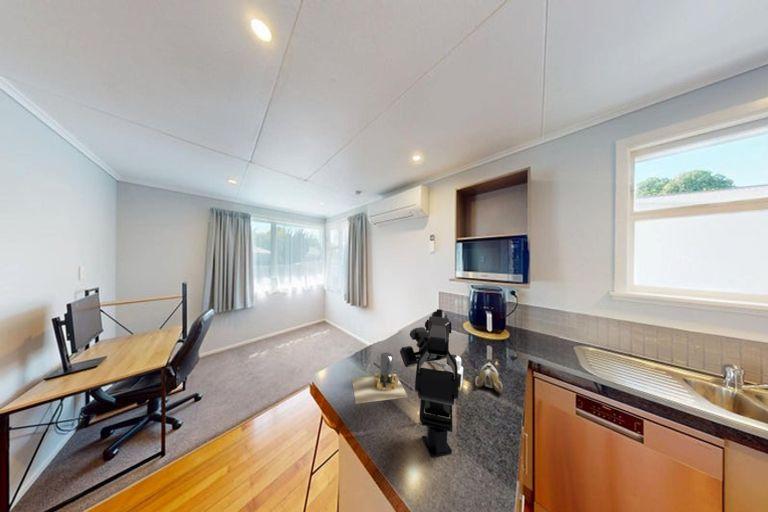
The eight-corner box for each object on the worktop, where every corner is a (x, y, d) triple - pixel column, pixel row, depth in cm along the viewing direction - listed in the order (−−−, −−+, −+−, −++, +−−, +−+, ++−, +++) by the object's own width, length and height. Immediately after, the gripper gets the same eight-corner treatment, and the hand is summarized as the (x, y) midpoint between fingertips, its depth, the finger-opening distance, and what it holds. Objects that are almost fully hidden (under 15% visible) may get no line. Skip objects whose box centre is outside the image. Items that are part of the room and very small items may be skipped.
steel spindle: (391, 388, 85) (392, 358, 85) (379, 387, 86) (380, 357, 86) (392, 381, 90) (393, 353, 90) (380, 380, 91) (381, 352, 91)
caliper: (453, 379, 94) (454, 364, 95) (451, 379, 94) (452, 364, 95) (428, 360, 114) (429, 348, 114) (426, 360, 113) (427, 348, 114)
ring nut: (400, 389, 84) (400, 383, 84) (376, 392, 82) (376, 386, 82) (393, 376, 94) (393, 370, 94) (371, 378, 92) (371, 372, 92)
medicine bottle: (442, 385, 90) (444, 357, 90) (446, 378, 96) (447, 351, 96) (460, 391, 86) (461, 361, 87) (462, 382, 93) (463, 355, 93)
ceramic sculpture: (502, 361, 96) (503, 378, 83) (502, 380, 96) (503, 400, 83) (477, 356, 101) (473, 371, 88) (477, 373, 101) (474, 392, 88)
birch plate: (408, 400, 80) (408, 397, 80) (355, 407, 75) (355, 403, 75) (395, 376, 96) (395, 374, 96) (351, 381, 92) (351, 378, 92)
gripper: (443, 320, 82) (425, 339, 91) (403, 325, 73) (387, 345, 83) (458, 348, 75) (437, 365, 84) (416, 357, 66) (397, 375, 75)
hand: (414, 362), depth 82 cm, fingers open, 9 cm apart
